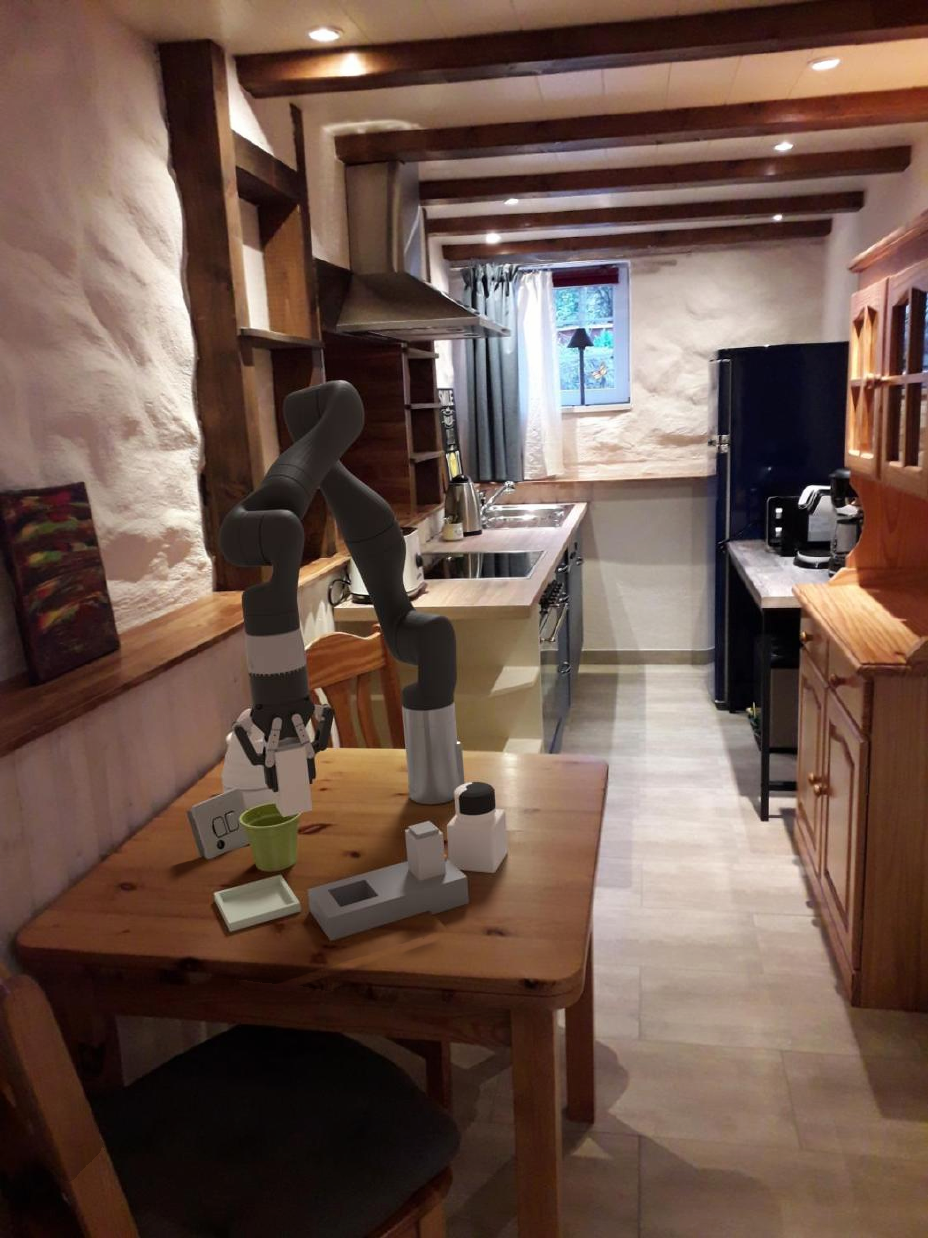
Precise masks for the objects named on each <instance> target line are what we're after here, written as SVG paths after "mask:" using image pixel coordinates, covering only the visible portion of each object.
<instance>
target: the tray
mask: <svg viewBox="0 0 928 1238" xmlns="http://www.w3.org/2000/svg"><path fill="white" fill-rule="evenodd" d="M213 895H214V896H213V897H214V902H215V904H216V906H217V908H218V909H219V912H220V914H221V916H222V918H223V920H224V922H225V924H226V926H227V928H228V931H229V932H230V933H231V932H235V931H238V930H241V929H245V928H248V927H252V926H255V925H258V924H262V923H265V922H269V921H272V920H273V921H274V920H276V919H279V918H283V917H286V916H289V915H293V914H296V913H300V912H302V908H301V902H300V900H299V899H298V898H297V896H296V895H295V893H294V892H293V890H292V888H291V887H290V886H289V884H288V883H287V881H286V880H285V879H284V877H283V875H282V874H278V875H274V876H270V877H266V878H263V879H260V880H256V881H252V882H249V883H244V884H241V885H237V886H234V887H230V888H226V889H223V890H219V891H215V892H213Z"/></svg>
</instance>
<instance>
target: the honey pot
mask: <svg viewBox="0 0 928 1238" xmlns="http://www.w3.org/2000/svg"><path fill="white" fill-rule="evenodd" d="M251 710H252V708H247V709H245V710H243V711H242V712H241V714H240V715H239V716H238V718H237V720H236V721H237V722H241V721H243V720H244V719H246V718H248V717H250V712H251ZM251 730H252V734H251V735H250V736H249V739H250V741H251V743H252V745H253V747H254V749H255V751H256V753H262V748H263V743H262V741H263V734H264V733H263V732H262V731H261V730H260V729H259V728H258V727H257V726H256V725H255V724H254V725H253V726H252V727H251ZM225 742H226V745H228V747H227V750H226V753H225V754H224V763H223V768H222V770H221V782H222V791H223V793H224V792H227V791H229V790H231V789H234V788H238V789H240V790H241V791H242V794H243V798H244V801H245V804H246V808H247V809H251V808H253V807H256V806H259V805H262V804H268V803H275V794H274V792H273V791H272V789H269V788H268V786H267V785H266V783H265V777H264V769H263V766H262V765H257V766H254V765H252V764H251V762H250V760H249V759H248V758H247V756H246V754H245V752H244V750H243V748H242V747H241V745H240V743H239V741H238V739H237V737H236V735H235V733H234V731H233V730H232V732H230V733H228V735H226V737H225Z"/></svg>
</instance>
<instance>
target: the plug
mask: <svg viewBox="0 0 928 1238" xmlns="http://www.w3.org/2000/svg"><path fill="white" fill-rule="evenodd" d="M274 756H275V761H274V765H275V766H276V774H277V782H278V790H279V791H278V792H275V793H274V794H275V803H276V808H277V809H278V810H279V812H280V813H281V815H282V816H283V817H287V816H291V815H295V814H299V813H302V814H303V813H308V812H312V811H313V805H312V804H313V803H312V796H311V795H312V794H311V786H310V785H311V784H309V776H308V767H307V758H306V749H305V746H304V745H303V746H302V745H301V742H300V741H299V740H298V739H297V737H295V738H285V739H283V740H280V741H278V748H277V750H276V751H274Z"/></svg>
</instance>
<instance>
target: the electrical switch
mask: <svg viewBox="0 0 928 1238" xmlns="http://www.w3.org/2000/svg"><path fill="white" fill-rule="evenodd" d="M245 811H247V808H246V804H245V801H244V798H243V794H242V791H241V790H240V789H238V788H234V789H231V790H229V791H227V792H224V793H220V794H218V795H215V796H213V797H211V798H208V799H206V800H204V801H201V802H198V803H197V804H194V805H192V807H191V808H190V809H187V810H186V814H187V818H188V821H189V824H190V829H191V831H192V834H193V838H194V840H195V843H196V848H197V851H198V853H199V856H200V857H202V858H203V857H204V858H205V859H206V860H211V859H214V858H216V857H218V856H220V855H222V854H224V853H226V852H228V853H229V852H230V851H235V850H239V849H242V848H243V847H246V846H248V845H250V843H249V839H248V836H247V833H246V832H245V830H244V827H243V825H241V824H240V821H239V818H240V816H241V815H242V814H243V813H244V812H245Z"/></svg>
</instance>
